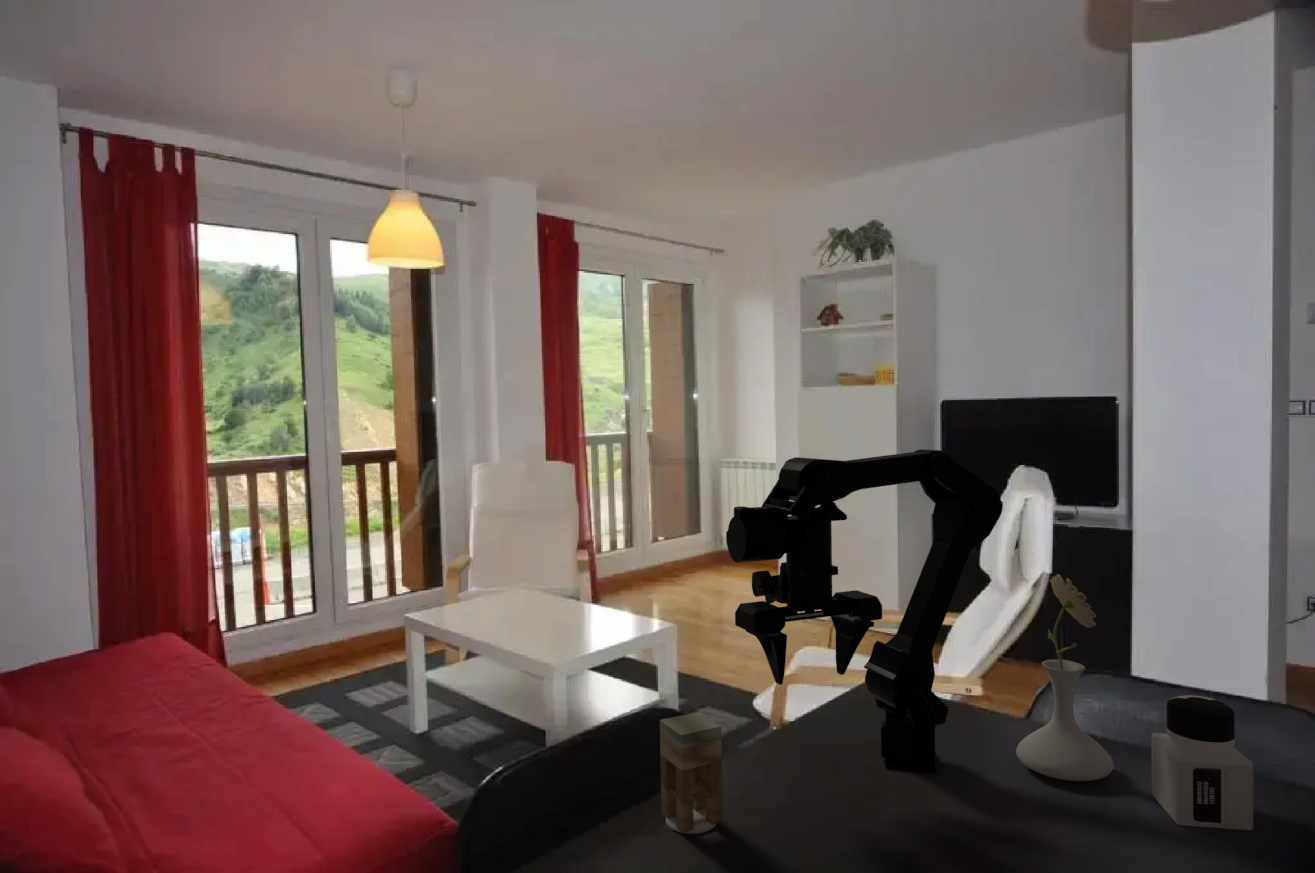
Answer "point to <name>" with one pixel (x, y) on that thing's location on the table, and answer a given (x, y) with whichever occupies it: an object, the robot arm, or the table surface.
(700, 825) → the mat
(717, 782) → the stool
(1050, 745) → the flower in vase
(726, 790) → the table surface
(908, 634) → the robot arm
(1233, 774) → the container
